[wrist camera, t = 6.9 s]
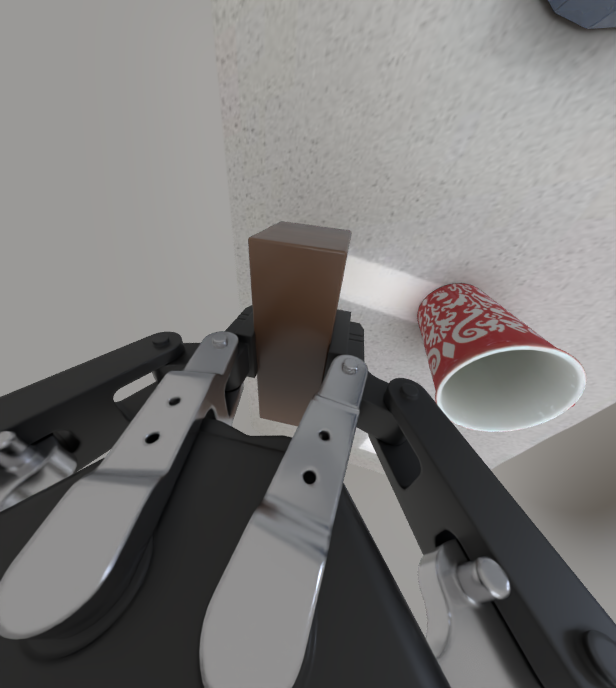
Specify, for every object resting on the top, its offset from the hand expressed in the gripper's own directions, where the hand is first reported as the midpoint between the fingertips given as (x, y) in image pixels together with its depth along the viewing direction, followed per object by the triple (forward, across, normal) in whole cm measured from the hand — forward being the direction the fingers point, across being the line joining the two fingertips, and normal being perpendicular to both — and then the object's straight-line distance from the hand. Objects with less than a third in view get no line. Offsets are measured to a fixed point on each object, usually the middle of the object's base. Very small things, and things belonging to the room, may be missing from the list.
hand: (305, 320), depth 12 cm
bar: (0, 0, 0) cm, 0 cm away
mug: (+17, -16, +6) cm, 25 cm away
